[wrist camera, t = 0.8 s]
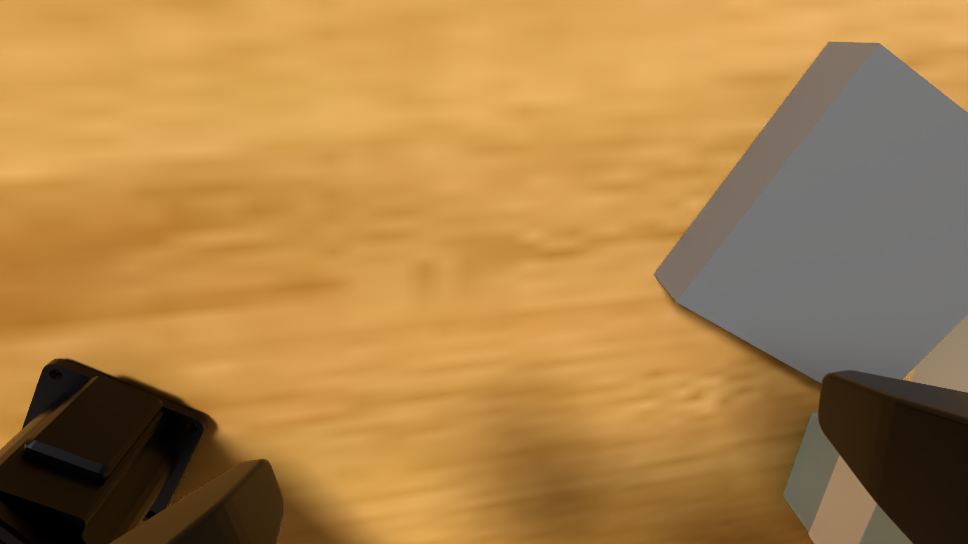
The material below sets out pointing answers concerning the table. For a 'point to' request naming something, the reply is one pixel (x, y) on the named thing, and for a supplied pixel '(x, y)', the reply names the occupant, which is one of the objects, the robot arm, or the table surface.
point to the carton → (834, 497)
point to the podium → (839, 223)
